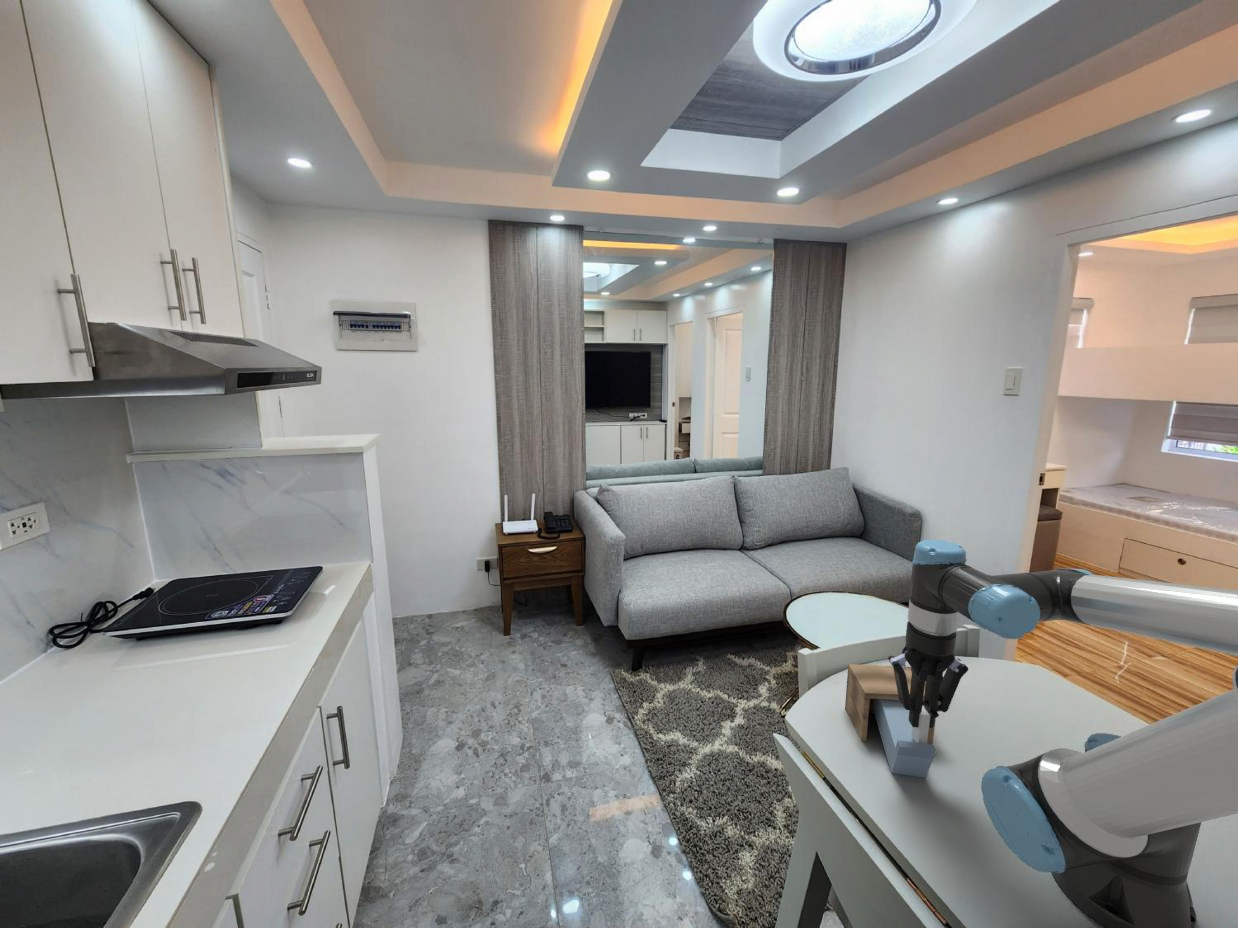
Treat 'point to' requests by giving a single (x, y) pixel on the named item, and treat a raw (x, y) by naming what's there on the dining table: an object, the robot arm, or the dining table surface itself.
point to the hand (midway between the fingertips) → (919, 740)
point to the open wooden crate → (872, 693)
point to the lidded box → (901, 740)
